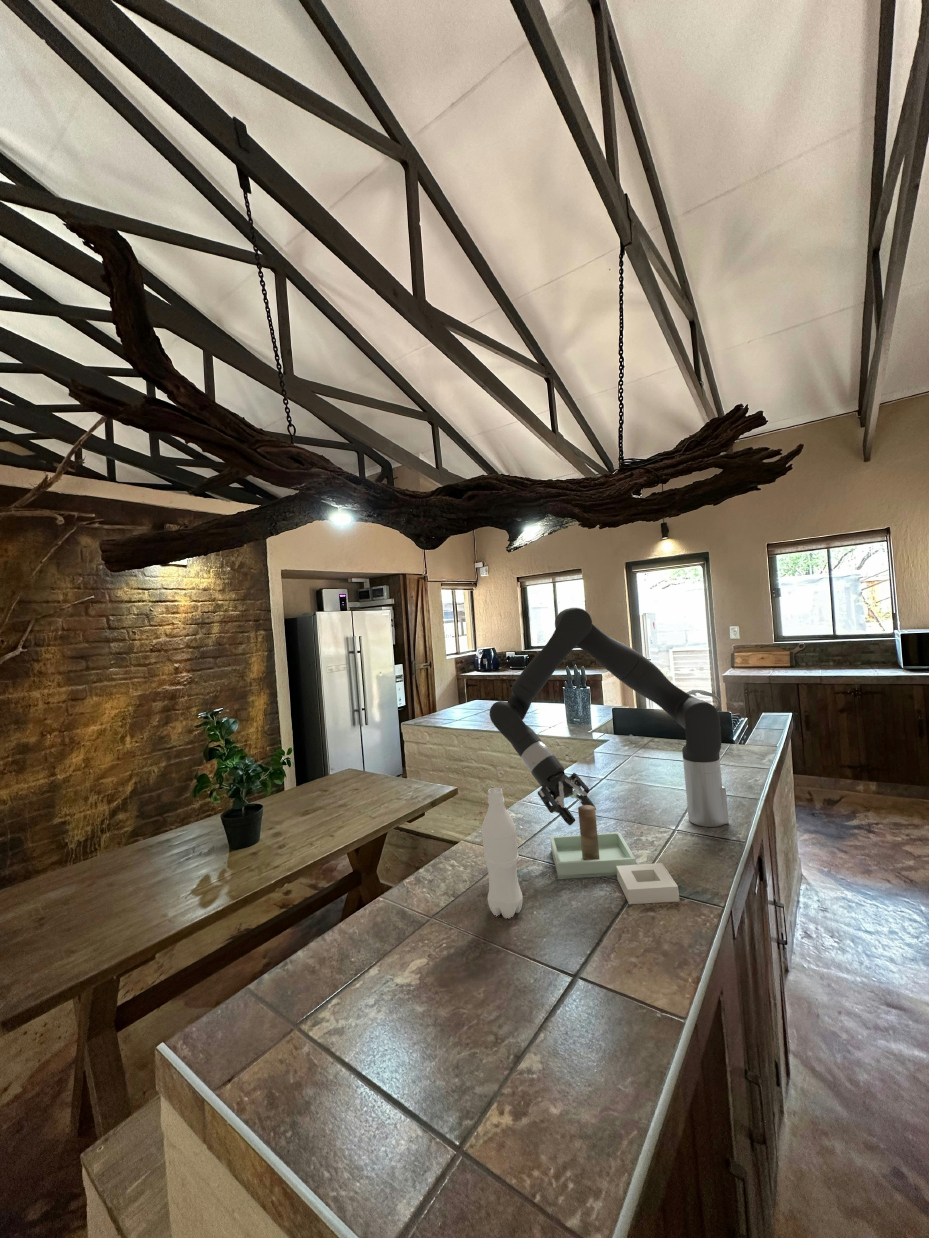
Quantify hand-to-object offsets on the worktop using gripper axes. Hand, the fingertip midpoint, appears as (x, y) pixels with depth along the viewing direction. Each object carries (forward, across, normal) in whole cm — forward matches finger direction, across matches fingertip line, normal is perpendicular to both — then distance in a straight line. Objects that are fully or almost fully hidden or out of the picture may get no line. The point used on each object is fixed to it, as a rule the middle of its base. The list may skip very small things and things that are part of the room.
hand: (583, 817), depth 124 cm
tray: (+8, 0, +7) cm, 10 cm away
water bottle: (+7, -28, +8) cm, 30 cm away
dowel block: (+20, -4, -5) cm, 21 cm away
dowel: (+8, 0, +6) cm, 10 cm away
